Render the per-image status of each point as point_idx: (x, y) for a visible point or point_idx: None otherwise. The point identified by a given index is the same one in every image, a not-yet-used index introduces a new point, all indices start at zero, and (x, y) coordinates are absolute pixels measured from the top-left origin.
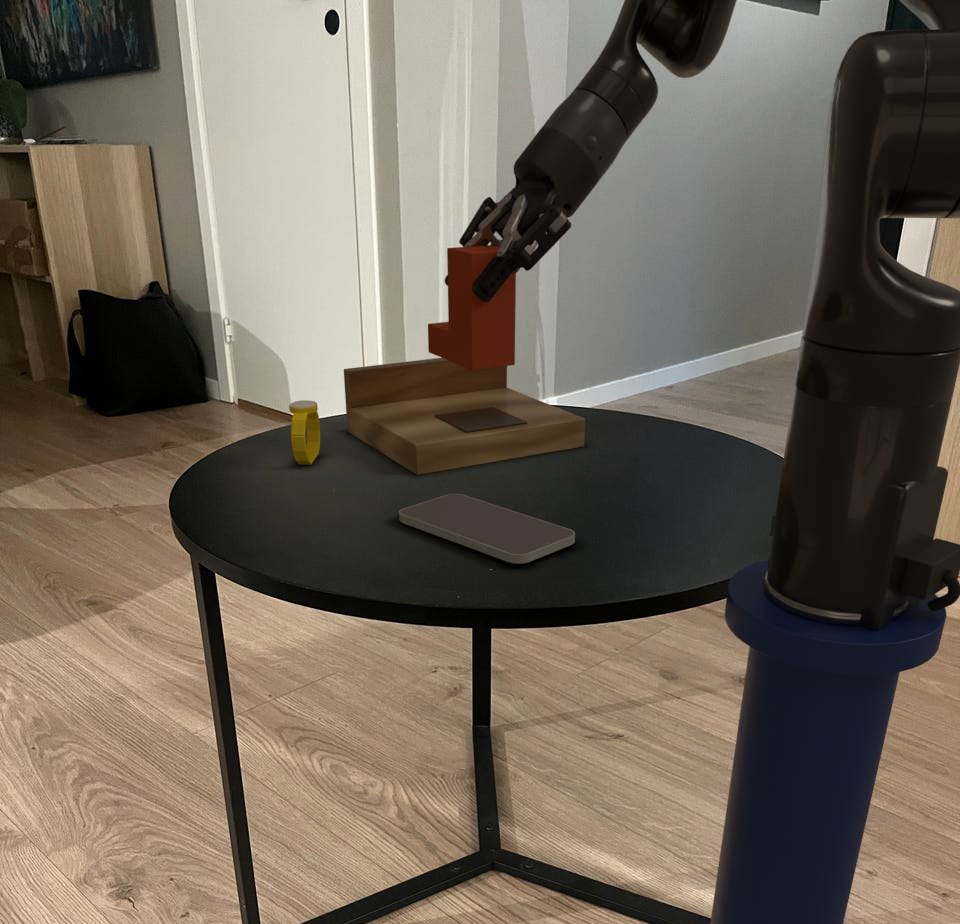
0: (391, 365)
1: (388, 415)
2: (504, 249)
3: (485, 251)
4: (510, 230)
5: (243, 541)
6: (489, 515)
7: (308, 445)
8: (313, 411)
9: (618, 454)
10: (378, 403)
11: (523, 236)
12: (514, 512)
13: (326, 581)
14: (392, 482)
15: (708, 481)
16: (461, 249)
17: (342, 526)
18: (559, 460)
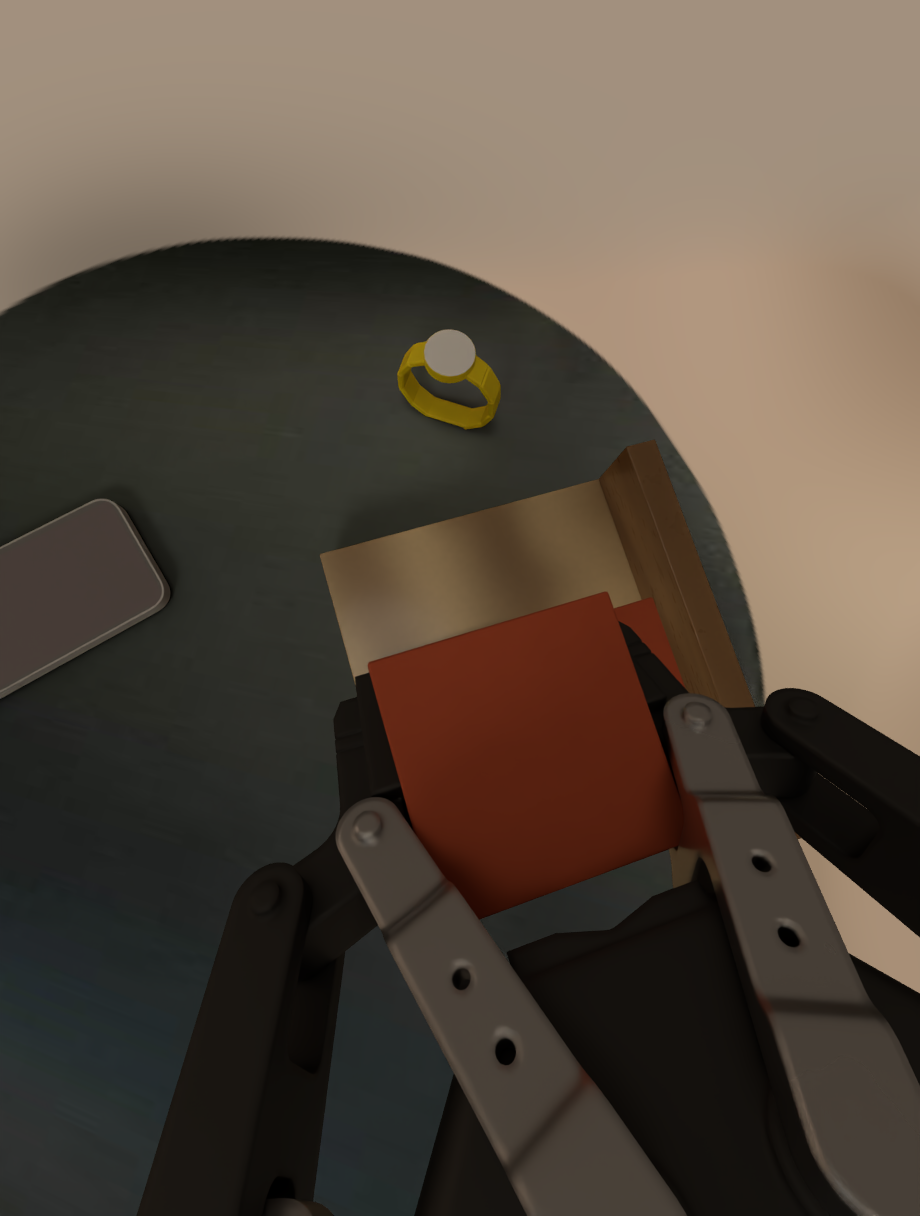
0: (673, 542)
1: (533, 537)
2: (351, 846)
3: (417, 749)
4: (390, 939)
5: (112, 303)
6: (35, 626)
7: (479, 409)
8: (430, 373)
9: (359, 962)
10: (618, 531)
11: (267, 993)
12: (34, 668)
13: None
14: (304, 523)
15: (149, 1091)
16: (529, 646)
17: (127, 427)
18: None
